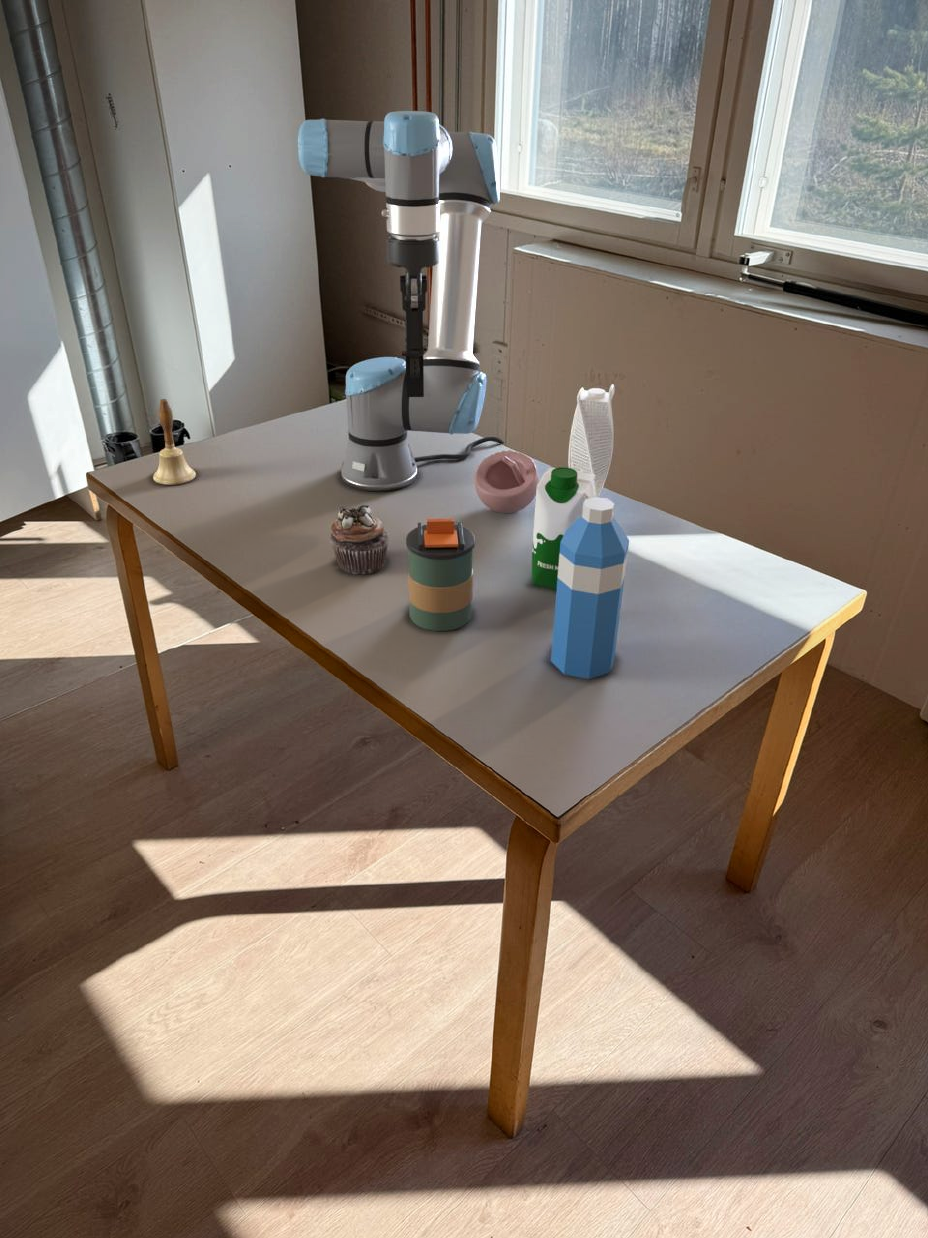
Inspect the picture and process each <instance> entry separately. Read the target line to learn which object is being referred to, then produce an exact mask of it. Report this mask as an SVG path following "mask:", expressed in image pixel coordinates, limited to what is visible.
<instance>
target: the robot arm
mask: <svg viewBox="0 0 928 1238" xmlns="http://www.w3.org/2000/svg"><path fill="white" fill-rule="evenodd" d="M496 144H497V143H496V141H495V139H494V137H493V136H492V135H490V134H488V133H483V132H482V133H481V132H473V131H471V130H470V131H467V132H466V131H465V132H464V131H447V130H446V128H445V127H444V126H443V125H441V124H440V121H439V117H438V115H437V114H436V113H434V112H430V111H423V110H422V111H421V110H397V111H391V112H387V114H386V115H385V117H384V120H383V121H380V120H379V121H377V120H374V121H373V120H369V121H367V120H366V121H365V120H348V119H347V120H344V119H326V118H320V119H306V120H304V121H303V122H302V123H301V125H300V126H299V130H298V135H297V150H298V151H297V153H298V158H299V164H300V166H301V169H302V171H303V172H304V173H305V174H306V175H308V176H314V177H321V178H342V179H349V180H354V181H359V182H364V183H365V184H366V185H367V186H368V187H369V188H371V189H373V190H375V191H377V192H380V193H385V206H386V208H385V209H382V210H381V216H382V217H383V218H386V231H387V232H388V234H390V235H388V236H387V238H386V261H387V263H388V264H389V265H391V266H392V267H396V268H403V269H405V274H403V275H402V274H401V275H399V288H400V289H399V290H400V292H401V305H402V306H401V307H402V310H403V311H404V312H405V337H404V342H405V346H404V347H405V350H401V357H399V358H398V357H397V356H380V357H374V358H369V359H365V360H362V361H359V362H357V363H355V364H353V365H352V366H350V368H349V369H348V370H347V371H346V374H345V390H344V394H345V400H346V401H345V402H346V417H347V433H348V441H347V446H346V449H345V454H344V459H343V461H342V464H341V471H340V472H341V473H340V475H341V480H342V481H343V482H344V483H345V484H346V485H348V486H349V487H352V488H354V489H358V490H361V491H369V492H386V491H387V492H388V491H394V490H399V489H402V488H405V487H407V486H409V485H411V484H412V483H414V482H415V481H416V479H417V478H418V467H417V463H419V462H427V461H434V460H461V459H466V458H467V457H469V456H470V455H471V449H472V448H475V447H477V446H479V445H482V444H484V443H487V442H488V443H489V442H496V443H497V444H500V445H504V444H505V442H504V440H503V439H502V438H500V437H498V436H486V437H482V438H480V439H477V440H475V441H473V442H471V443H468V444H467V445H466V447H465V452H463V453H459V454H458V453H457V454H450V453H440V454H430V455H423V456H415V457H414V454H413V451H412V449H411V445H410V442H409V440H408V431H409V432H410V431H411V432H425V433H437V434H439V433H440V434H449V435H454V434H455V435H458V434H461V435H462V434H463V435H467V434H469V435H470V434H471V433H473V432H474V431H475V430H476V429H477V427H478V426H479V423H480V419H481V416H482V411H483V407H484V402H485V398H486V397H485V396H486V391H487V389H486V388H487V382H488V381H487V380H488V379H487V378H488V377H487V375H486V373H484V372H483V371H480V367H481V366H480V365H481V363H480V361H478V359H477V358H476V357H475V356H474V353H473V351H474V339H475V337H474V336H475V322H476V307H477V294H478V279H479V278H478V277H479V263H480V248H481V233H482V223H483V222H484V221H485V220H486V219H487V218H488V217H489V216H490V215H491V207H492V205H495V204H498V203H499V202H500V194H501V193H500V191H501V189H500V173H499V160H498V150H497V145H496ZM424 268H432V275H431V292H430V293H431V294H430V308H429V309H430V310H429V323H428V324H429V327H428V340H427V341H428V342H427V345H424V312H425V310H426V307H427V306H426V303H427V302H426V301H427V300H426V294H427V292H428V279H427V275H425V274H424V275H422V269H424ZM402 357H405V359H403V358H402Z"/></svg>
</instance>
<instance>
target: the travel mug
mask: <svg viewBox="0 0 928 1238" xmlns="http://www.w3.org/2000/svg"><path fill="white" fill-rule="evenodd" d="M407 551H408V552H407V554H408V555H407V557H408V570H407V597H408V602H409V603H408V604H409V605H408V607H409V609H408V610H409V611H408V612H409V617H410V620H411V621H412V623H413V624H415V625H416V626H417V627H419V628H421V629H424V630H428V631H432V632H433V631H434V632H447V631H448V632H449V631H454V630H456V629H459V628H462V627H464V626H465V625H467V624H468V623H469V621H470V620H471V618H472V601H473V595H474V593H473V592H474V570H473V556H474V555H473V553H474V548H473V549H472V551H471V552H469V553H468V554H466V555H464V556H461V557H458V558H454V559H447V560H434V559H427V558H423V557H420V556H418V555H415V554H414V553H412V552H411V551H410V550H409V549H408V548H407Z"/></svg>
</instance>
